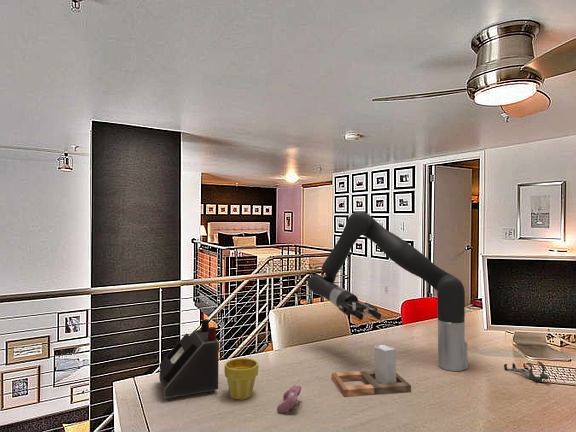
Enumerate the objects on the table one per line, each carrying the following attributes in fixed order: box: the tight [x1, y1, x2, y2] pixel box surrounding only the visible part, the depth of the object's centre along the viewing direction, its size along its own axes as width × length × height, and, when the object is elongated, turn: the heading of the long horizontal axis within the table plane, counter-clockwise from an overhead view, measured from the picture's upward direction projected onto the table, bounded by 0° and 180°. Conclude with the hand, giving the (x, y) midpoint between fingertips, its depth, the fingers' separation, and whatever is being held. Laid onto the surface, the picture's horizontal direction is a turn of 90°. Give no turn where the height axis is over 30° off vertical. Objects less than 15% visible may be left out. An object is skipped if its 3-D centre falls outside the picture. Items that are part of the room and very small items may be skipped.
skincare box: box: [374, 344, 397, 384], centre depth 130 cm, size 6×4×12 cm
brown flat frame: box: [331, 369, 412, 397], centre depth 129 cm, size 22×14×2 cm, turn 99°
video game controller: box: [276, 383, 302, 414], centre depth 113 cm, size 10×5×7 cm, turn 169°
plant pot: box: [224, 357, 259, 401], centre depth 121 cm, size 10×10×10 cm
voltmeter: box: [158, 319, 220, 401], centre depth 126 cm, size 16×16×20 cm
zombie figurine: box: [503, 361, 549, 383], centre depth 136 cm, size 5×7×15 cm
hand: (371, 317), depth 139 cm, fingers open, 8 cm apart
